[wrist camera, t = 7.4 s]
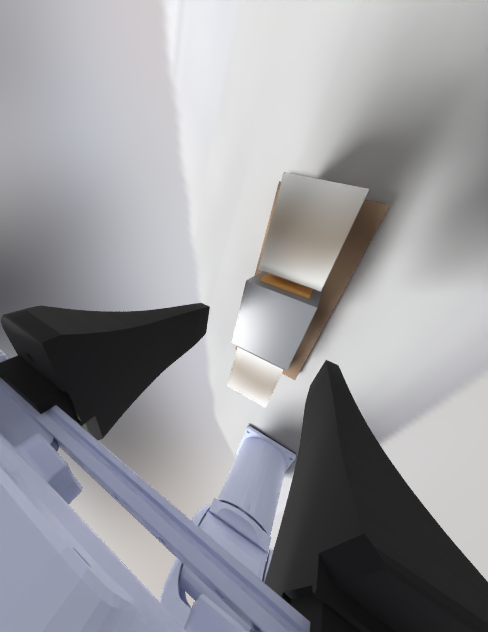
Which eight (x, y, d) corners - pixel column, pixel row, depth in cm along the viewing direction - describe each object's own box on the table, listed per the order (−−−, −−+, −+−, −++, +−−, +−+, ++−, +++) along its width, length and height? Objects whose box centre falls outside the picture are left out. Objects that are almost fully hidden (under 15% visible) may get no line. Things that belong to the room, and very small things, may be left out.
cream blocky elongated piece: (296, 374, 21) (283, 420, 16) (239, 345, 23) (211, 378, 18) (387, 206, 13) (419, 192, 8) (282, 184, 15) (252, 160, 10)
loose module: (300, 332, 17) (287, 370, 13) (258, 314, 18) (231, 342, 14) (325, 280, 14) (318, 304, 10) (273, 263, 16) (246, 277, 11)
